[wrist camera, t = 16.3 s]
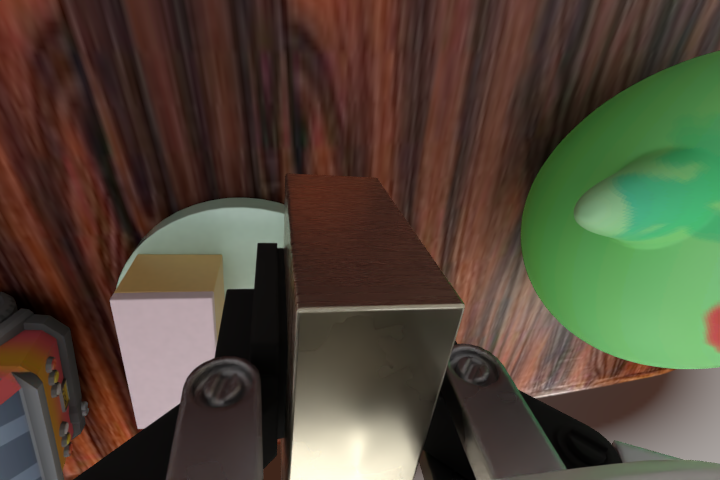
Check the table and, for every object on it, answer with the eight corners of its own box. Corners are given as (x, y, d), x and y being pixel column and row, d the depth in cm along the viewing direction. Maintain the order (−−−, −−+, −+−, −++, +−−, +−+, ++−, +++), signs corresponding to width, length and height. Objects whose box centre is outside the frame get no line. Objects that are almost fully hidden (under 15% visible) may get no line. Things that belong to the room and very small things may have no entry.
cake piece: (137, 253, 21) (108, 299, 18) (222, 254, 22) (212, 297, 19) (157, 371, 26) (137, 429, 22) (228, 367, 27) (221, 422, 23)
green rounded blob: (519, 310, 32) (684, 496, 19) (434, 139, 23) (626, 268, 11) (724, 189, 30) (1058, 306, 17) (711, -44, 21) (1344, -152, 9)
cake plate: (244, 144, 21) (242, 151, 20) (396, 297, 28) (402, 310, 27) (67, 305, 24) (56, 320, 22) (249, 408, 31) (248, 425, 30)
